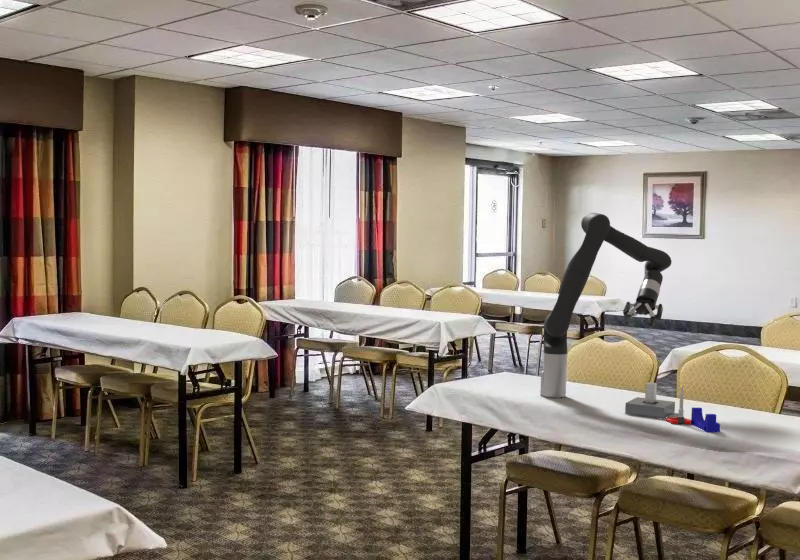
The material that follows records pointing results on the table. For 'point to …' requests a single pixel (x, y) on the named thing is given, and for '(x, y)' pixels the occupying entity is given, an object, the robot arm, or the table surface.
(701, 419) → the cable clip
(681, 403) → the red grey spiked stand
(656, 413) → the gray square socket block
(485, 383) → the table surface
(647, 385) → the light grey tall block
